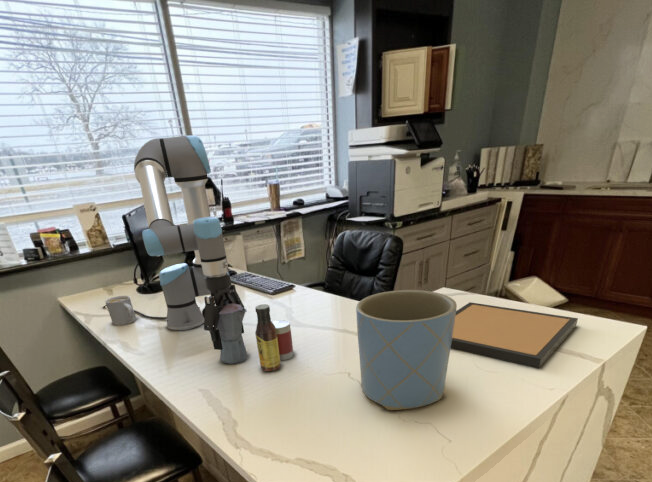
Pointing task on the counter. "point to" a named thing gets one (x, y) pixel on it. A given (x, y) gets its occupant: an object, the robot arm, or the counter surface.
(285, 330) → the tin can
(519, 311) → the framed cork board
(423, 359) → the planter
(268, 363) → the sauce bottle
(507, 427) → the counter surface
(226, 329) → the moka pot
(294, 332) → the counter surface
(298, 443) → the counter surface
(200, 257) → the robot arm
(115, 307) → the coffee mug
